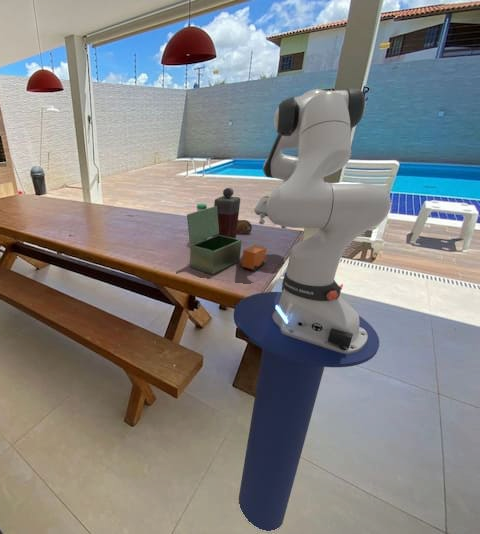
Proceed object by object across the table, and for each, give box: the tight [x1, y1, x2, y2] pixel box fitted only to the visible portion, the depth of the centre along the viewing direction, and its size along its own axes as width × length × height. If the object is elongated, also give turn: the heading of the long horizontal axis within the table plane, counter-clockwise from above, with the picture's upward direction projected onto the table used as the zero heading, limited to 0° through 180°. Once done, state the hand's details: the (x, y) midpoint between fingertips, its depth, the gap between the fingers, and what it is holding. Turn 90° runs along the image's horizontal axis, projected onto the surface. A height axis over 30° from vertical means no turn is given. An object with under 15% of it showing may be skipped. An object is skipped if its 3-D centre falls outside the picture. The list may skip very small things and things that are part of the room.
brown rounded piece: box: [236, 219, 253, 234], centre depth 167 cm, size 15×3×8 cm, turn 72°
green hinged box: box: [189, 235, 243, 275], centre depth 131 cm, size 12×20×10 cm, turn 129°
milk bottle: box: [196, 203, 208, 243], centre depth 155 cm, size 8×8×20 cm
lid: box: [186, 205, 219, 245], centre depth 132 cm, size 12×20×1 cm
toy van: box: [241, 244, 267, 272], centre depth 127 cm, size 5×9×8 cm, turn 129°
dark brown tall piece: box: [212, 187, 241, 239], centre depth 150 cm, size 9×11×28 cm
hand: (271, 225), depth 129 cm, fingers open, 8 cm apart
